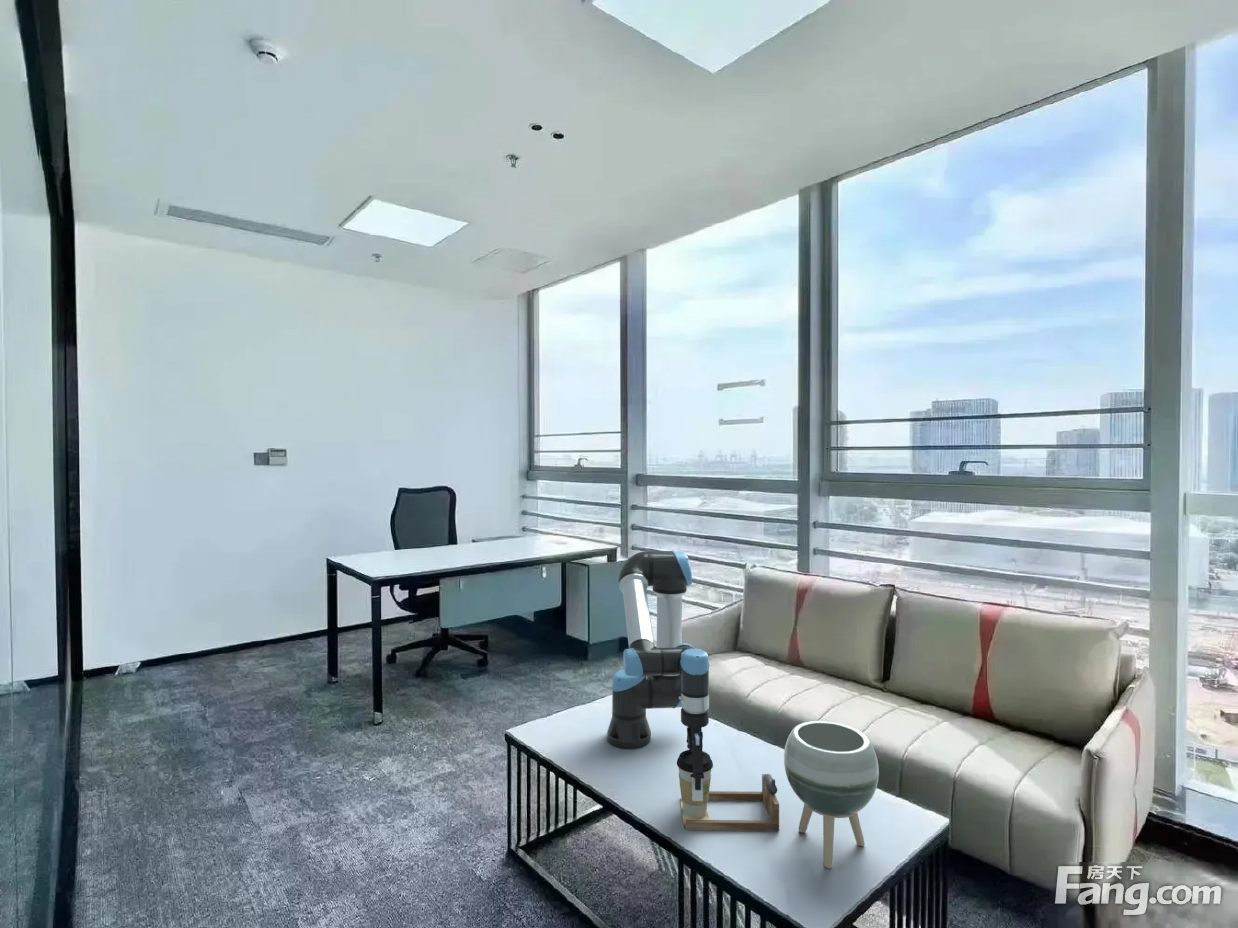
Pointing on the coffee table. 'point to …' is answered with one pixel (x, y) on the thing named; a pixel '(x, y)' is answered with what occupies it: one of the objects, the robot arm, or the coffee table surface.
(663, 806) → the coffee table surface
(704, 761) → the coffee cup
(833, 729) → the planter
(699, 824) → the bay
